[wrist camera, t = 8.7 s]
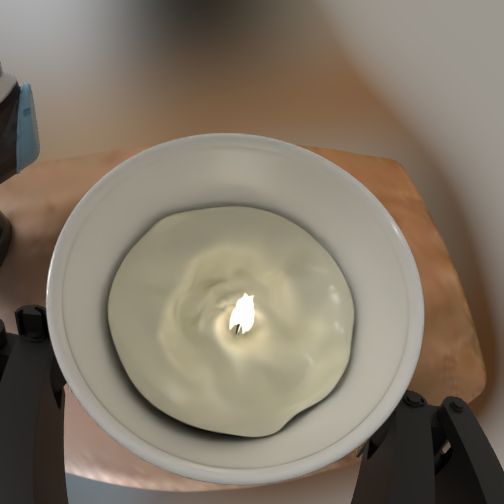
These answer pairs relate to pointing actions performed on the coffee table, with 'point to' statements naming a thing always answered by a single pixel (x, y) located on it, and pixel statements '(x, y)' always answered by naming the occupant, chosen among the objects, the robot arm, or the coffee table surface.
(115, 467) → the coffee table surface
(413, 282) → the candle holder
